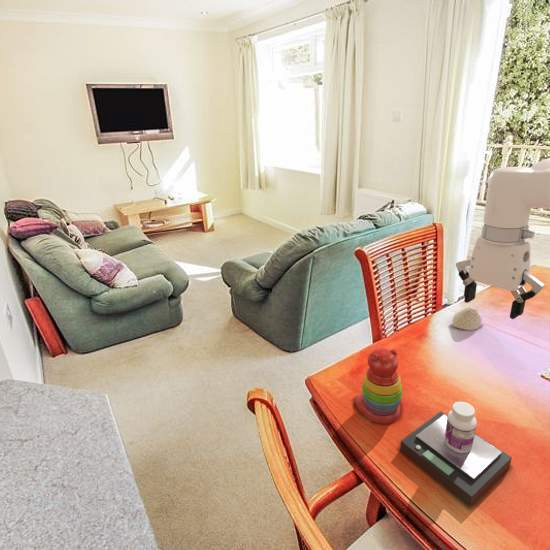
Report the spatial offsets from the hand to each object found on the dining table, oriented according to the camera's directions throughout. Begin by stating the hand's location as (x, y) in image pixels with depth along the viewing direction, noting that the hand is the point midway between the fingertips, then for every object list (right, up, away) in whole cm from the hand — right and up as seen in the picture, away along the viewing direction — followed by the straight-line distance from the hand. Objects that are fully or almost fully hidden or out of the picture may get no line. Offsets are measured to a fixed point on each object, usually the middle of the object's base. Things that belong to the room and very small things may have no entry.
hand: (491, 308), depth 80 cm
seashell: (+17, -9, +45) cm, 49 cm away
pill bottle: (-8, -28, -2) cm, 30 cm away
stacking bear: (-20, -27, +13) cm, 36 cm away
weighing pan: (-8, -29, -2) cm, 30 cm away
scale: (-9, -32, -1) cm, 33 cm away
